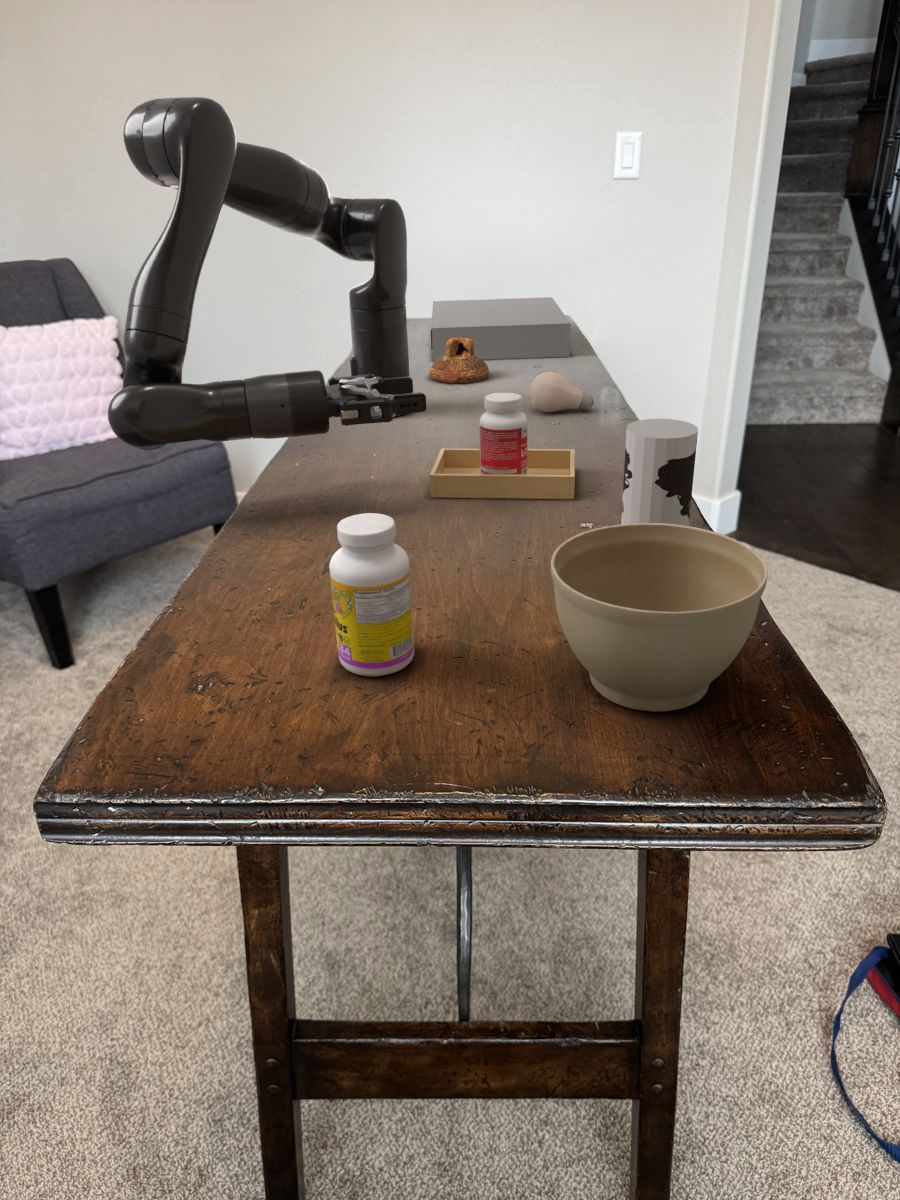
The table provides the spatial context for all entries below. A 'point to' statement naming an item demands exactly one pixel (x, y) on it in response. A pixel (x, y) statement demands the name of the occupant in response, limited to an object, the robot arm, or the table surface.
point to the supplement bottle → (371, 597)
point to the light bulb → (557, 394)
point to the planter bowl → (656, 609)
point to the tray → (504, 476)
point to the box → (502, 327)
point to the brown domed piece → (459, 363)
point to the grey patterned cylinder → (659, 471)
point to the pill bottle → (503, 435)
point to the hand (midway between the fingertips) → (418, 393)
